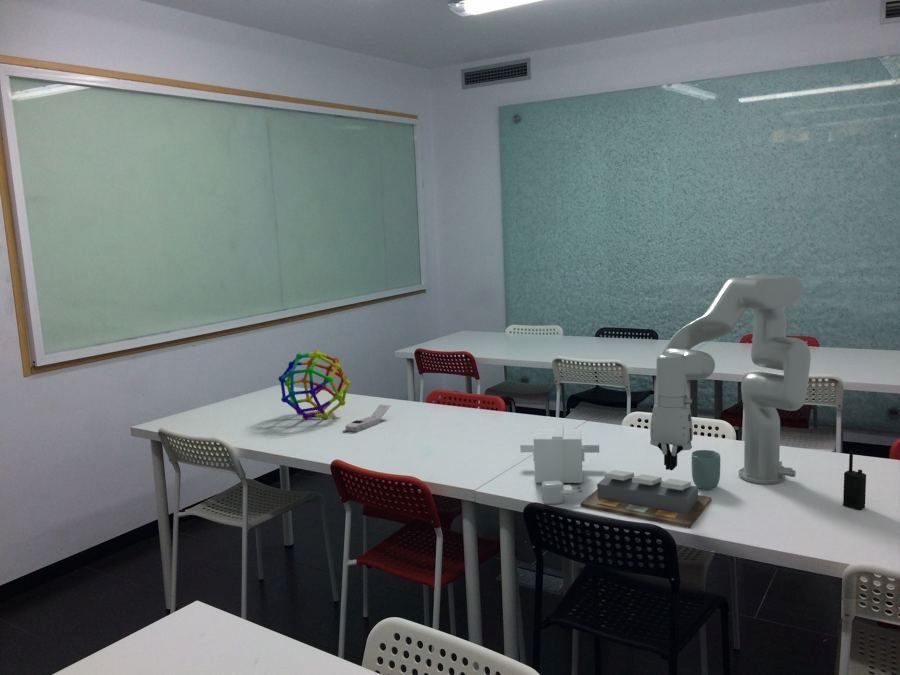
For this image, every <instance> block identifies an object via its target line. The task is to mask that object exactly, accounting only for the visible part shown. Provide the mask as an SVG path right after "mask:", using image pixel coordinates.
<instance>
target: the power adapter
mask: <svg viewBox="0 0 900 675" xmlns="http://www.w3.org/2000/svg"><path fill="white" fill-rule="evenodd" d="M576 493H578V494H579V493H584V490H583V489H582V486H572V485H571V484H562V482H561V481H544V482H541V497H542V498H541V499H542V501H543V503H544V505H560V504H561V503H562V504H564V501H565V496H574V494H576Z"/></svg>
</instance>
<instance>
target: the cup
mask: <svg viewBox="0 0 900 675" xmlns="http://www.w3.org/2000/svg"><path fill="white" fill-rule="evenodd" d="M691 477H692V482H693V484H694V486H697V487H698V489H700V490H706V491H708V490H714V489H716V488H717V487H718V485H719V483H720V478H721V454H720V453H719V452H718V451H715V450H709V449H700V450H694V451H692V452H691Z"/></svg>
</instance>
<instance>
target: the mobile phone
mask: <svg viewBox="0 0 900 675" xmlns="http://www.w3.org/2000/svg"><path fill="white" fill-rule="evenodd" d="M390 407H391V405H390V404H389V405H388V404H379V405H378V406H377V408H376V409H375V410H374V412H373V413H372V414H371V416H367V417H365V418H361V419H357V420H354V421H351V422H349V423H346V424H345V429H344V430H342V431H341V432H342V433H346V432H362V431H364V430H365V429H369V428H371V427H373V426H376V425H378V424H380V423H381V419H382V418H383V416H384V415H385V414H386V413H387V412H388V410H389V409H390Z"/></svg>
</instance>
